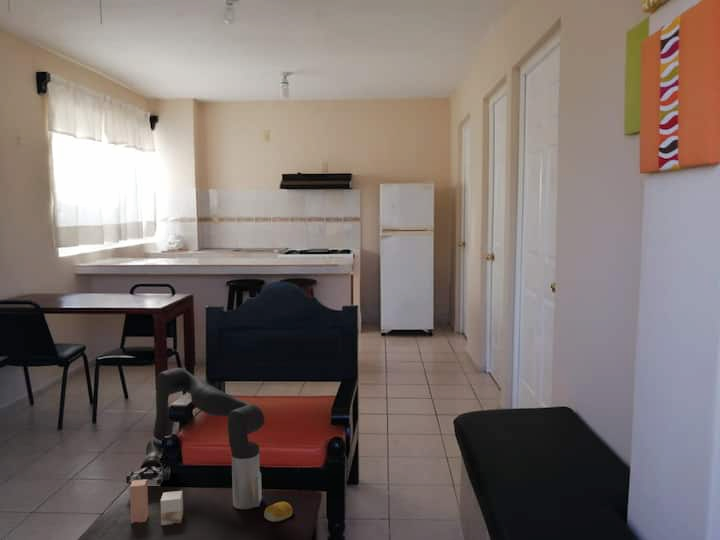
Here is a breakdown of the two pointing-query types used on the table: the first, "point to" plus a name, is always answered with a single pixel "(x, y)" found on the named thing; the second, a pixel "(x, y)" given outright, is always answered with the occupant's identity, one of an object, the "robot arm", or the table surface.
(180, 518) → the tower base
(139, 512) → the pillar
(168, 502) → the white short block
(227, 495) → the table surface
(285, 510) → the bread roll
